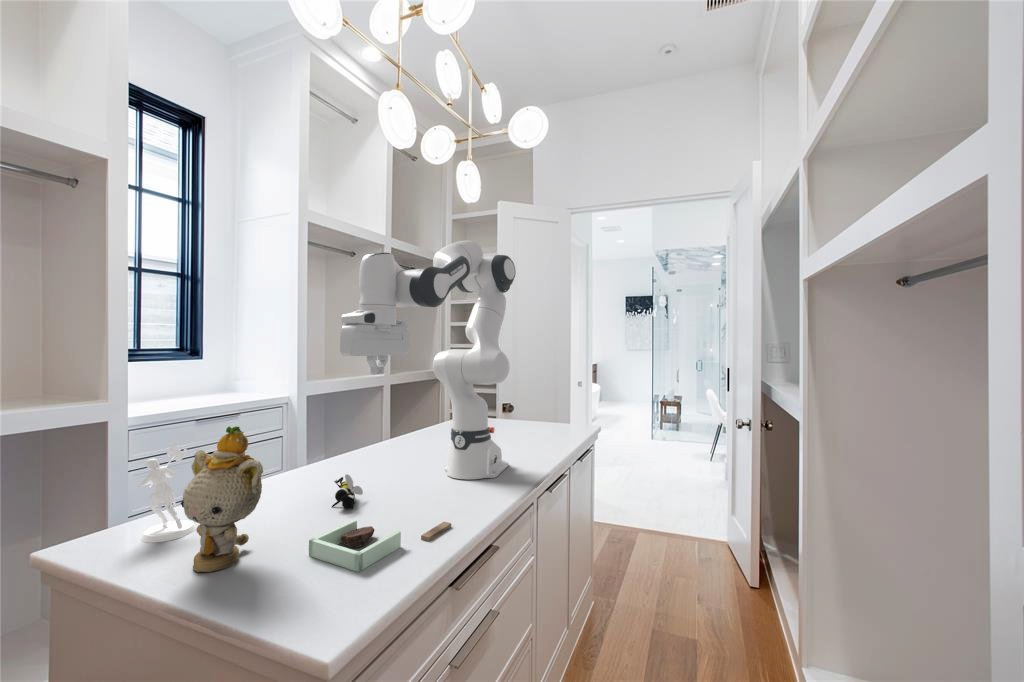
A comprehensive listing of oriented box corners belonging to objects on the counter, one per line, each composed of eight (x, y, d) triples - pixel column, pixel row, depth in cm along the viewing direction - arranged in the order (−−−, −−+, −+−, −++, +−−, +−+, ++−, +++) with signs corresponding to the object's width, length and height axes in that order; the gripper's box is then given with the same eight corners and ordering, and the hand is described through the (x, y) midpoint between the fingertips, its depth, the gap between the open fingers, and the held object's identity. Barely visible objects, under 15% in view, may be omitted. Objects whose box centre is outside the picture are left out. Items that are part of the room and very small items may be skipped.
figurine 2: (216, 590, 72) (217, 438, 72) (164, 564, 80) (165, 428, 81) (281, 560, 82) (282, 427, 82) (229, 539, 90) (230, 419, 91)
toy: (323, 484, 117) (320, 506, 103) (346, 465, 119) (347, 484, 105) (339, 502, 119) (340, 526, 105) (362, 483, 121) (365, 503, 107)
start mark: (443, 525, 98) (443, 521, 98) (451, 526, 97) (451, 523, 97) (420, 539, 91) (421, 535, 91) (428, 541, 90) (428, 537, 90)
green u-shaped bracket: (353, 533, 93) (353, 519, 93) (400, 546, 88) (400, 531, 88) (308, 555, 84) (308, 540, 84) (358, 572, 78) (358, 555, 78)
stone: (340, 553, 85) (341, 537, 85) (340, 538, 92) (340, 523, 92) (376, 548, 87) (376, 532, 87) (373, 533, 94) (373, 519, 94)
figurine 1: (184, 519, 101) (185, 441, 101) (207, 528, 96) (208, 446, 96) (131, 536, 92) (132, 450, 92) (153, 546, 87) (154, 456, 88)
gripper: (397, 320, 118) (396, 371, 118) (335, 315, 100) (335, 376, 100) (415, 319, 115) (415, 372, 115) (355, 315, 97) (355, 377, 97)
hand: (377, 374), depth 107 cm, fingers closed
